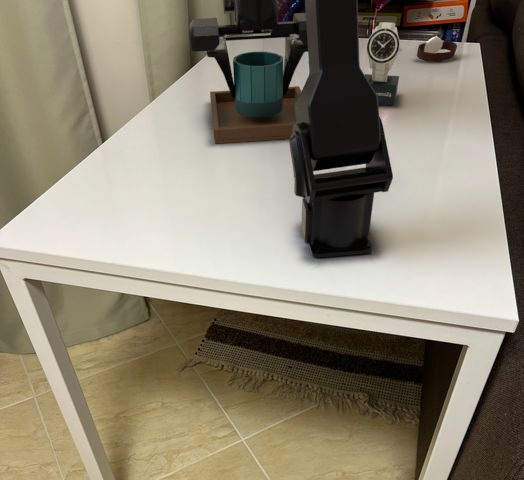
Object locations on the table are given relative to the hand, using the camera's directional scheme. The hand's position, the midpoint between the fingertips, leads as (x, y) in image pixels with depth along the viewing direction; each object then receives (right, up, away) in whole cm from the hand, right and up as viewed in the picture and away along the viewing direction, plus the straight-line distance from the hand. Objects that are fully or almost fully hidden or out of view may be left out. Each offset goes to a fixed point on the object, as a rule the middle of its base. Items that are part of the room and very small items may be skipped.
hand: (259, 95), depth 82 cm
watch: (+19, +3, +7) cm, 21 cm away
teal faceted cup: (-2, +3, +1) cm, 4 cm away
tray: (0, -3, +3) cm, 4 cm away
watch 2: (+33, +17, +22) cm, 43 cm away
